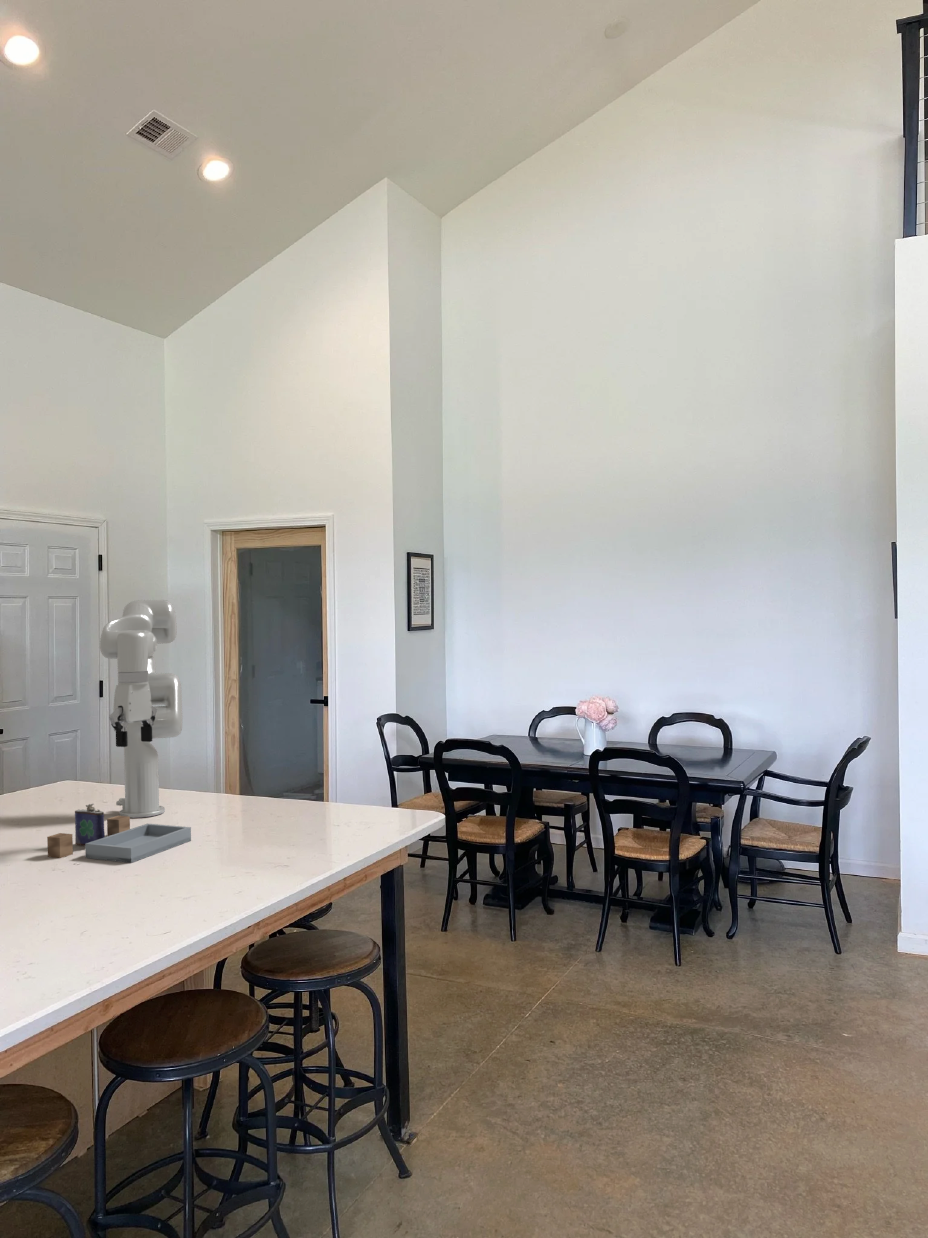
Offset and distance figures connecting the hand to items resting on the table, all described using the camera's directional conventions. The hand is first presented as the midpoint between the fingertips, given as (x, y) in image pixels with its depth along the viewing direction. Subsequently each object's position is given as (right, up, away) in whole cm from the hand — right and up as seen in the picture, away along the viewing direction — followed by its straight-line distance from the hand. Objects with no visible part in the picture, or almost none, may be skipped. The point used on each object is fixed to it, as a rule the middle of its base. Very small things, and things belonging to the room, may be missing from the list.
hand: (134, 744), depth 239 cm
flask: (-10, -26, -4) cm, 28 cm away
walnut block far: (-6, -25, +5) cm, 27 cm away
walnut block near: (-13, -26, -14) cm, 32 cm away
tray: (+5, -25, -9) cm, 27 cm away
